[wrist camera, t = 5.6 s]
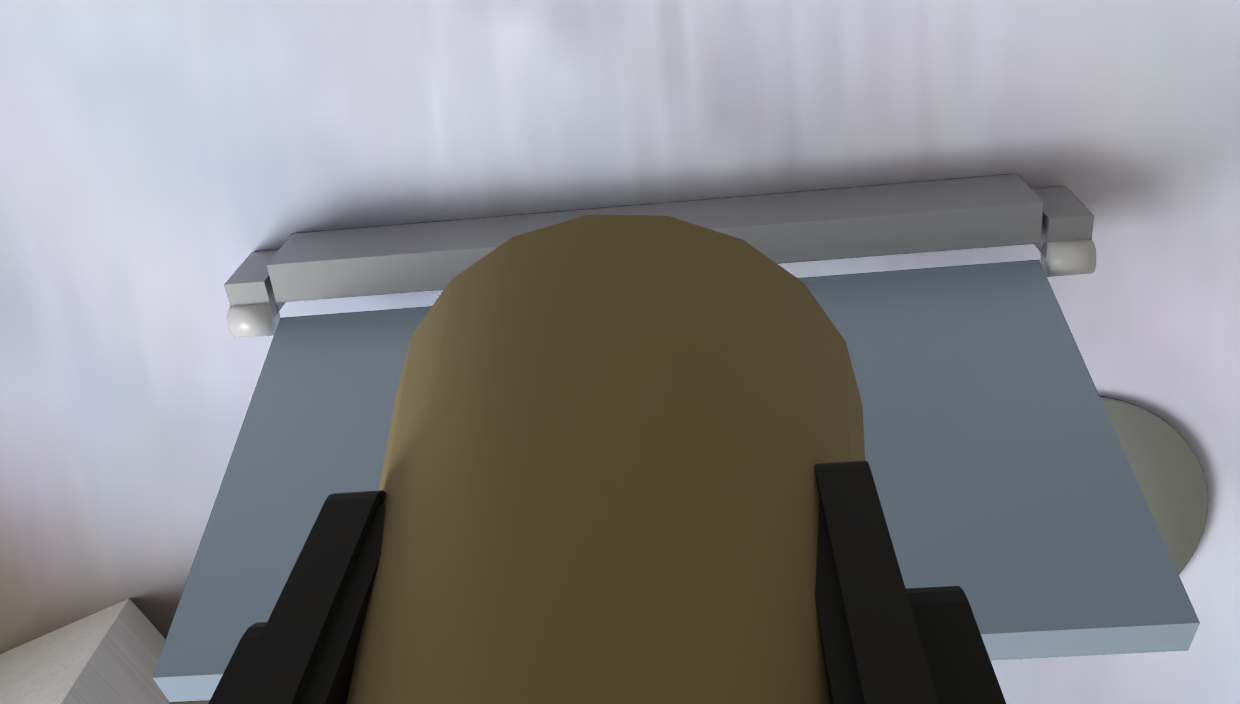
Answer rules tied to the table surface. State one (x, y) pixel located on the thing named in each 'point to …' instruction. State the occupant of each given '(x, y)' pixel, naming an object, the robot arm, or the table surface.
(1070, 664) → the table surface
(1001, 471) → the panel
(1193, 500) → the pad
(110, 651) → the white printed box
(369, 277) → the bar
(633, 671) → the cork
